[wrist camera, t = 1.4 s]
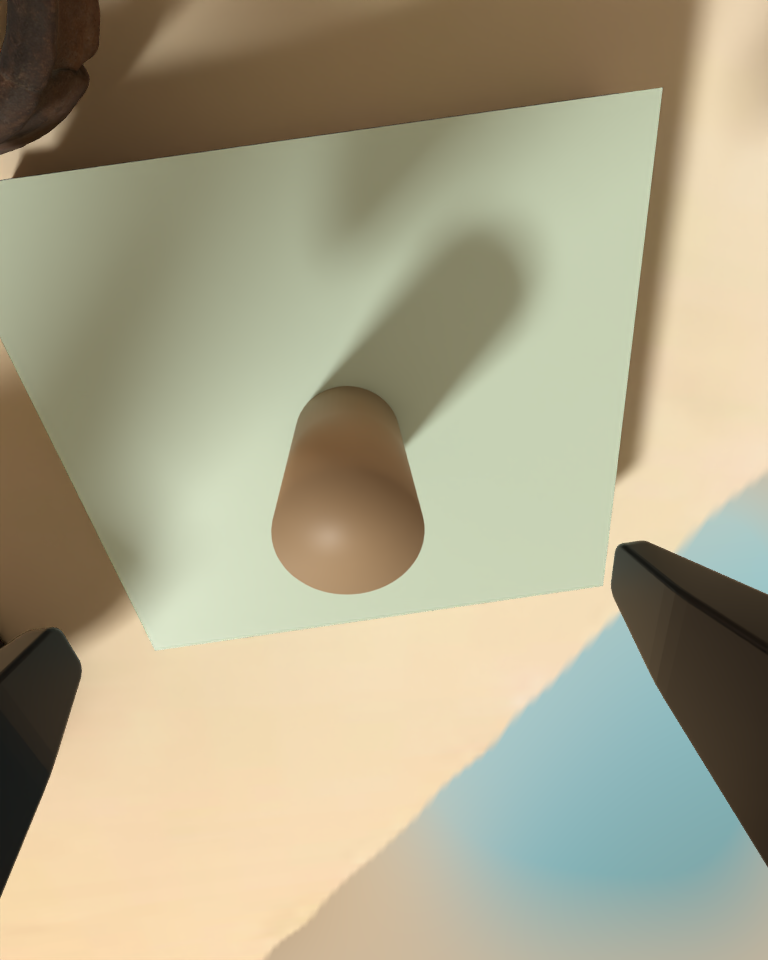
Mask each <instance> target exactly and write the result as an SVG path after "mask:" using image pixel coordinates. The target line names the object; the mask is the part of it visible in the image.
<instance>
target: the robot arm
mask: <svg viewBox="0 0 768 960" xmlns="http://www.w3.org/2000/svg"><path fill="white" fill-rule="evenodd" d="M611 589H612V594H613V597H614V599H615V601H616V604H617V606H618V608H619V610H620V612H621V614H622V616H623V618H624V620H625V622H626V624H627V627H628V628H629V631H630V633H631V635H632V637H633V639H634V641H635V643H636V645H637V647H638V649H639V652H640V654H641V656H642V658H643V660H644V662H645V664H646V666H647V668H648V670H649V672H650V674H651V676H652V678H653V680H654V682H655V684H656V686H657V687H658V689H659V691H660V692H661V694H662V696H663V698H664V699H665V701H666V703H667V704H668V706H669V707H670V709H671V711H672V712H673V714H674V716H675V717H676V719H677V720H678V722H679V724H680V725H681V727H682V729H683V730H684V732H685V733H686V735H687V737H688V738H689V740H690V741H691V743H692V745H693V746H694V748H695V750H696V751H697V753H698V755H699V756H700V758H701V759H702V761H703V763H704V764H705V766H706V768H707V769H708V771H709V772H710V774H711V776H712V777H713V779H714V781H715V782H716V784H717V785H718V787H719V789H720V790H721V792H722V793H723V795H724V797H725V798H726V800H727V802H728V803H729V805H730V807H731V808H732V810H733V812H734V813H735V814H736V816H737V818H738V820H739V821H740V823H741V825H742V826H743V828H744V829H745V831H746V833H747V834H748V836H749V837H750V839H751V841H752V842H753V844H754V846H755V847H756V849H757V850H758V852H759V854H760V855H761V857H762V859H763V860H764V862H765V863H766V865H767V867H768V594H766V593H763V592H761V591H759V590H757V589H754V588H752V587H750V586H747V585H745V584H743V583H741V582H738V581H736V580H734V579H731V578H729V577H727V576H725V575H722V574H720V573H718V572H716V571H713V570H711V569H709V568H706V567H704V566H702V565H700V564H697V563H695V562H693V561H691V560H688V559H686V558H684V557H681V556H679V555H677V554H675V553H672V552H670V551H668V550H666V549H663V548H661V547H659V546H656V545H654V544H652V543H650V542H647V541H635V542H628V543H622V544H620V545H618V546H617V548H616V551H615V556H614V564H613V571H612V579H611ZM81 673H82V669H81V663H80V660H79V659H78V657H77V655H76V654H75V652H74V650H73V649H72V647H71V645H70V644H69V642H68V640H67V639H66V637H65V635H64V634H63V632H62V631H61V630H59V629H58V628H54V627H49V628H42V629H35V630H30V631H27V632H25V633H23V634H22V635H20V636H19V637H17V638H16V639H14V640H13V641H11V642H10V643H8V644H7V645H6V646H4V644H3V643H2V641H1V640H0V898H1V895H2V893H3V890H4V888H5V885H6V883H7V881H8V878H9V876H10V873H11V871H12V868H13V866H14V864H15V861H16V859H17V856H18V854H19V851H20V849H21V847H22V844H23V842H24V839H25V837H26V834H27V832H28V830H29V827H30V825H31V822H32V820H33V817H34V815H35V813H36V810H37V808H38V805H39V803H40V800H41V798H42V796H43V793H44V791H45V788H46V785H47V783H48V780H49V778H50V775H51V772H52V769H53V766H54V763H55V760H56V757H57V754H58V751H59V747H60V744H61V741H62V738H63V734H64V731H65V728H66V725H67V721H68V718H69V715H70V712H71V708H72V705H73V702H74V699H75V695H76V692H77V689H78V686H79V682H80V679H81Z"/></svg>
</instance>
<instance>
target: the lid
mask: <svg viewBox="0 0 768 960" xmlns="http://www.w3.org/2000/svg"><path fill="white" fill-rule="evenodd" d="M662 89H663V87H662V88H655V89H648V90H641V91H634V92H627V93H620V94H613V95H605V96H598V97H591V98H584V99H577V100H570V101H563V102H556V103H549V104H542V105H534V106H527V107H520V108H513V109H506V110H499V111H492V112H485V113H478V114H471V115H463V116H456V117H449V118H442V119H435V120H428V121H421V122H414V123H407V124H400V125H392V126H385V127H378V128H371V129H364V130H357V131H350V132H343V133H336V134H328V135H321V136H314V137H307V138H300V139H293V140H286V141H279V142H272V143H265V144H257V145H250V146H243V147H236V148H229V149H222V150H215V151H208V152H201V153H194V154H186V155H179V156H172V157H165V158H158V159H151V160H144V161H137V162H130V163H122V164H115V165H108V166H101V167H94V168H87V169H80V170H73V171H66V172H59V173H51V174H44V175H37V176H30V177H23V178H16V179H9V180H2V181H0V339H1V341H2V343H3V345H4V347H5V349H6V351H7V353H8V355H9V357H10V359H11V361H12V363H13V365H14V367H15V369H16V371H17V373H18V375H19V377H20V379H21V381H22V383H23V385H24V387H25V389H26V391H27V393H28V395H29V397H30V399H31V401H32V403H33V405H34V407H35V409H36V411H37V413H38V415H39V417H40V419H41V421H42V423H43V425H44V427H45V429H46V431H47V433H48V435H49V437H50V439H51V441H52V444H53V446H54V448H55V450H56V452H57V454H58V456H59V458H60V460H61V462H62V464H63V466H64V468H65V470H66V472H67V474H68V476H69V478H70V480H71V482H72V484H73V486H74V488H75V490H76V492H77V494H78V496H79V498H80V500H81V502H82V504H83V506H84V508H85V510H86V512H87V514H88V516H89V518H90V520H91V522H92V524H93V526H94V528H95V530H96V532H97V534H98V536H99V538H100V540H101V542H102V544H103V546H104V549H105V551H106V553H107V555H108V557H109V559H110V561H111V563H112V565H113V567H114V569H115V571H116V573H117V575H118V577H119V579H120V581H121V583H122V585H123V587H124V589H125V591H126V593H127V595H128V597H129V599H130V601H131V603H132V605H133V607H134V609H135V611H136V613H137V615H138V617H139V619H140V621H141V623H142V625H143V627H144V629H145V631H146V633H147V635H148V637H149V639H150V641H151V643H152V645H153V647H154V649H155V651H156V650H163V649H170V648H177V647H184V646H190V645H197V644H204V643H211V642H218V641H225V640H232V639H239V638H246V637H253V636H260V635H267V634H273V633H280V632H287V631H294V630H301V629H308V628H315V627H322V626H329V625H336V624H343V623H350V622H356V621H363V620H370V619H377V618H384V617H391V616H398V615H405V614H412V613H419V612H426V611H433V610H439V609H446V608H453V607H460V606H467V605H474V604H481V603H488V602H495V601H502V600H509V599H516V598H523V597H529V596H536V595H543V594H550V593H557V592H564V591H571V590H578V589H585V588H592V587H599V586H603V581H604V573H605V565H606V556H607V548H608V540H609V531H610V523H611V515H612V506H613V498H614V490H615V481H616V473H617V465H618V456H619V448H620V440H621V431H622V423H623V415H624V406H625V398H626V390H627V381H628V373H629V365H630V356H631V348H632V340H633V331H634V323H635V315H636V306H637V298H638V290H639V281H640V273H641V265H642V256H643V248H644V240H645V231H646V223H647V215H648V206H649V198H650V190H651V181H652V173H653V165H654V156H655V148H656V140H657V131H658V123H659V115H660V106H661V98H662Z"/></svg>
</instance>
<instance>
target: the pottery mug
mask: <svg viewBox="0 0 768 960" xmlns="http://www.w3.org/2000/svg"><path fill="white" fill-rule="evenodd" d="M99 26H100V10H99V4H98V0H7V25H6V34H5V38H4V42H3V47H2V49H1V52H0V155H1V154H4V153H7V152H9V151H13V150H15V149H18V148H21V147H23V146H25V145H26V144H29V143H31V142H33V141H35V140H37V139H39V138H40V137H42V136H44V135H45V134H47V133H49V132H50V131H51V130H52V129H54V128H55V127H56V126H57V125H58V124H60V123H61V122H62V121H63V120H64V119H65V118H66V117H67V115H68V114H69V113H70V112H71V110H72V109H73V107H74V106H75V105H76V104H77V102H78V101H79V99H80V98H81V97H82V96H83V94H84V93H85V91H86V89H87V87H88V85H89V80H90V79H89V75H88V73H87V71H86V69H85V67H84V66H83V63H84V62H85V61H87V60H88V59H90V58H91V57H92V56H94V54H95V53H96V51H97V49H98V46H99V31H100V29H99Z"/></svg>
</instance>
